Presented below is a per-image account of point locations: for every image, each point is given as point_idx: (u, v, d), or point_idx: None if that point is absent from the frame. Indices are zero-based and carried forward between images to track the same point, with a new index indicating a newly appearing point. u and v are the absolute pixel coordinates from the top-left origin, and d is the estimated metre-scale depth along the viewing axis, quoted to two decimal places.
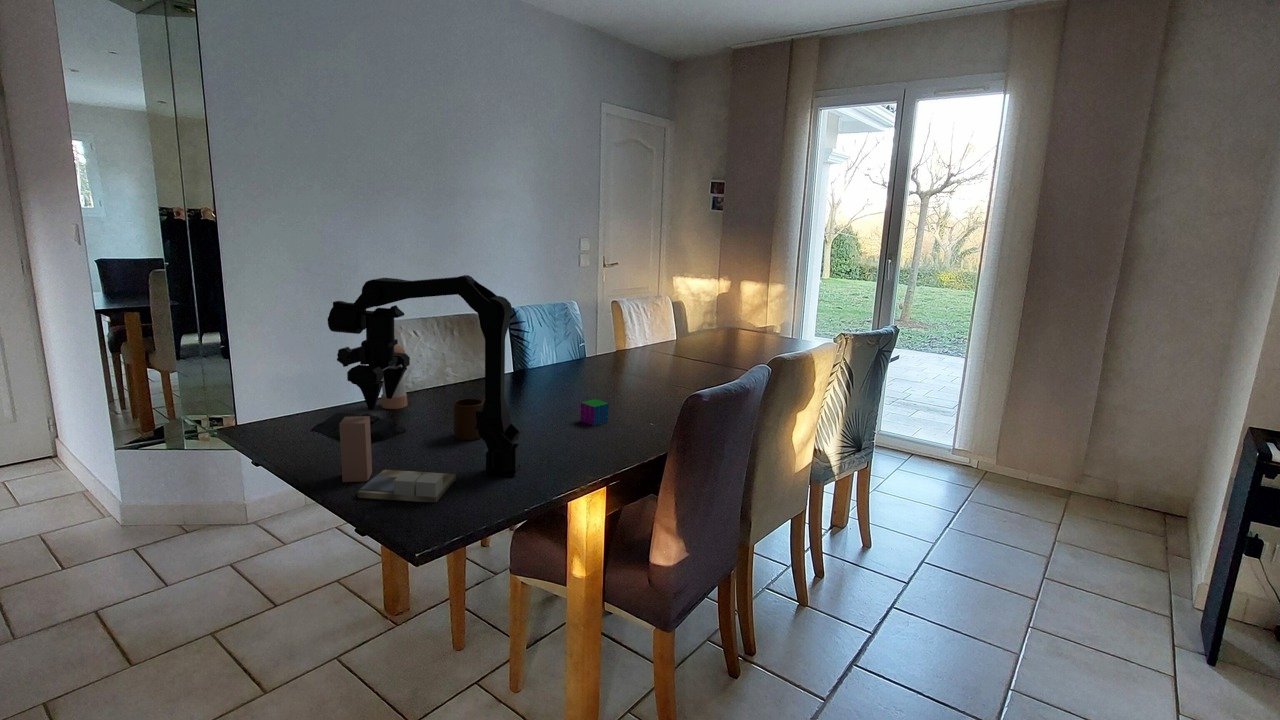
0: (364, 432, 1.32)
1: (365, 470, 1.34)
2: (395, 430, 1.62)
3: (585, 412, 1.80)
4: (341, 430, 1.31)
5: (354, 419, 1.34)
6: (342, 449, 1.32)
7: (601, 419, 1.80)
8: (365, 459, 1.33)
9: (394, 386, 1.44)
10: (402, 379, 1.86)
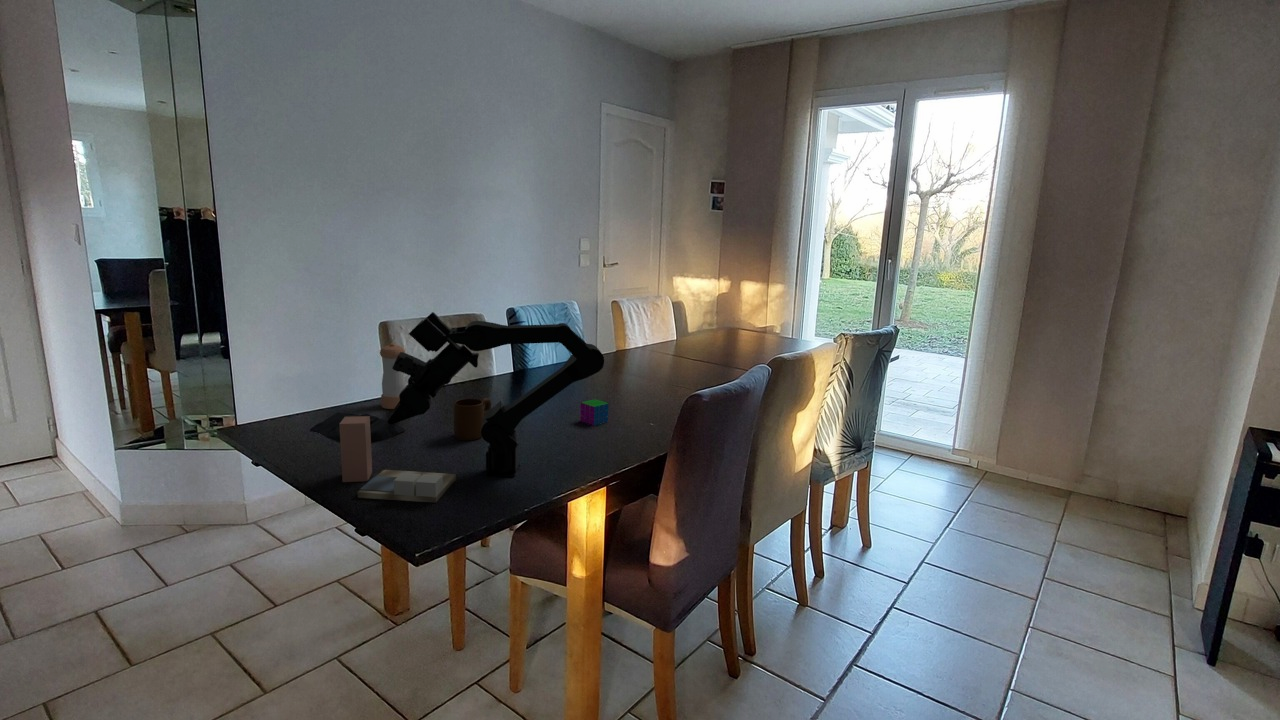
0: (364, 432, 1.32)
1: (365, 470, 1.34)
2: (394, 430, 1.62)
3: (585, 412, 1.80)
4: (341, 430, 1.31)
5: (354, 419, 1.34)
6: (342, 449, 1.32)
7: (601, 419, 1.80)
8: (365, 459, 1.33)
9: None
10: (402, 379, 1.86)
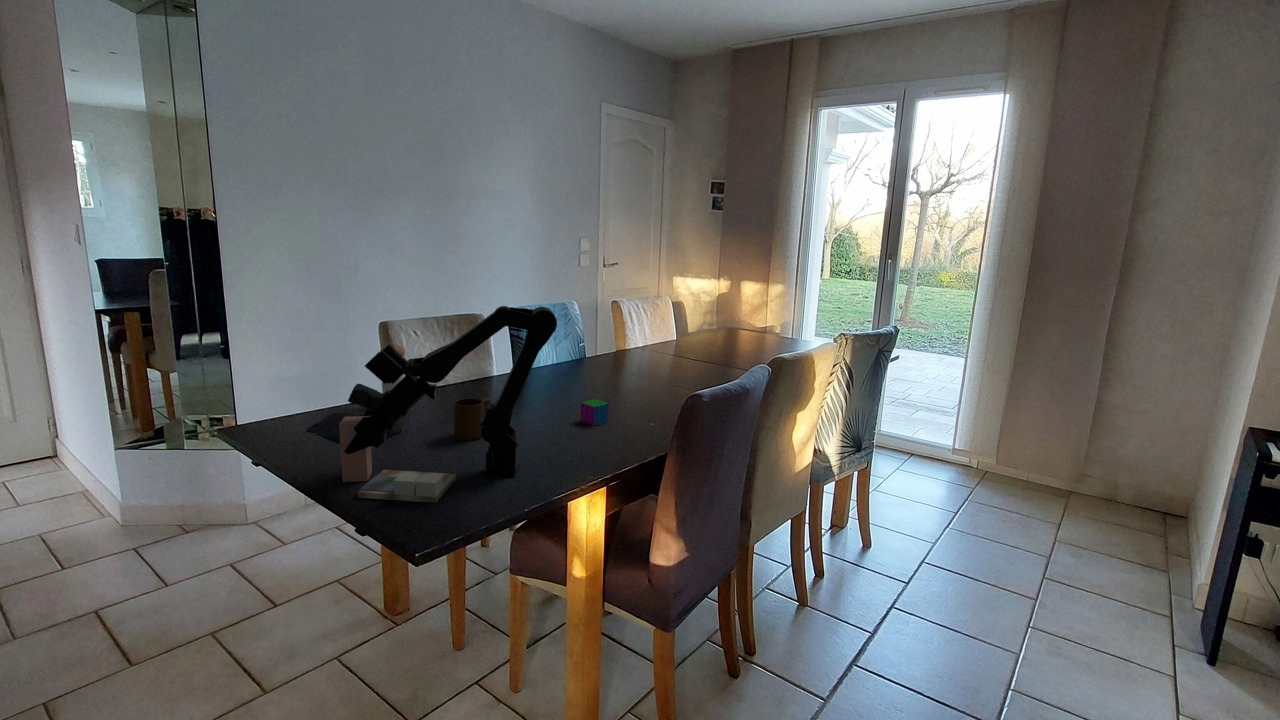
0: None
1: (365, 470, 1.34)
2: (390, 430, 1.61)
3: (585, 412, 1.80)
4: (341, 430, 1.31)
5: (354, 419, 1.34)
6: (342, 449, 1.32)
7: (601, 419, 1.80)
8: (365, 459, 1.33)
9: None
10: None
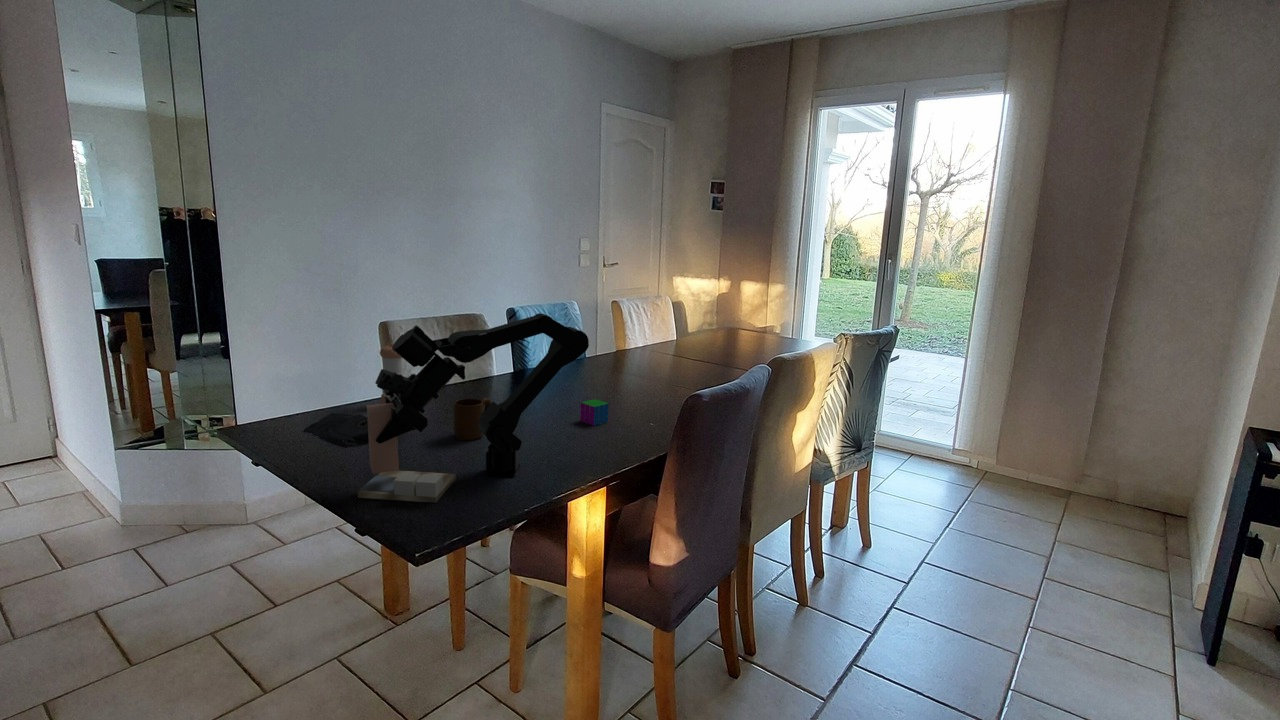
0: None
1: (396, 459, 1.28)
2: None
3: (585, 412, 1.80)
4: (371, 419, 1.24)
5: (380, 407, 1.27)
6: (372, 439, 1.25)
7: (601, 419, 1.80)
8: (396, 447, 1.27)
9: None
10: None
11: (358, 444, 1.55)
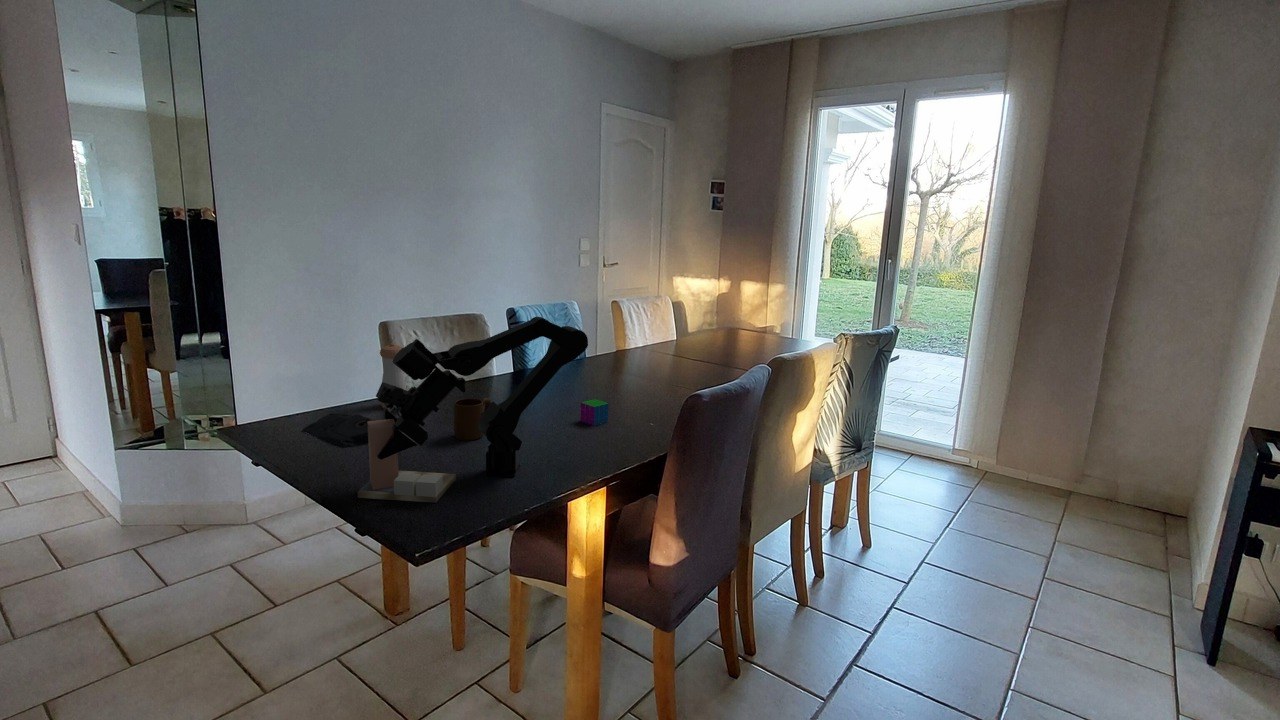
0: None
1: (396, 475, 1.29)
2: None
3: (585, 412, 1.80)
4: (372, 435, 1.25)
5: (381, 423, 1.28)
6: (373, 455, 1.25)
7: (601, 419, 1.80)
8: (396, 463, 1.28)
9: None
10: (402, 379, 1.86)
11: (356, 444, 1.55)
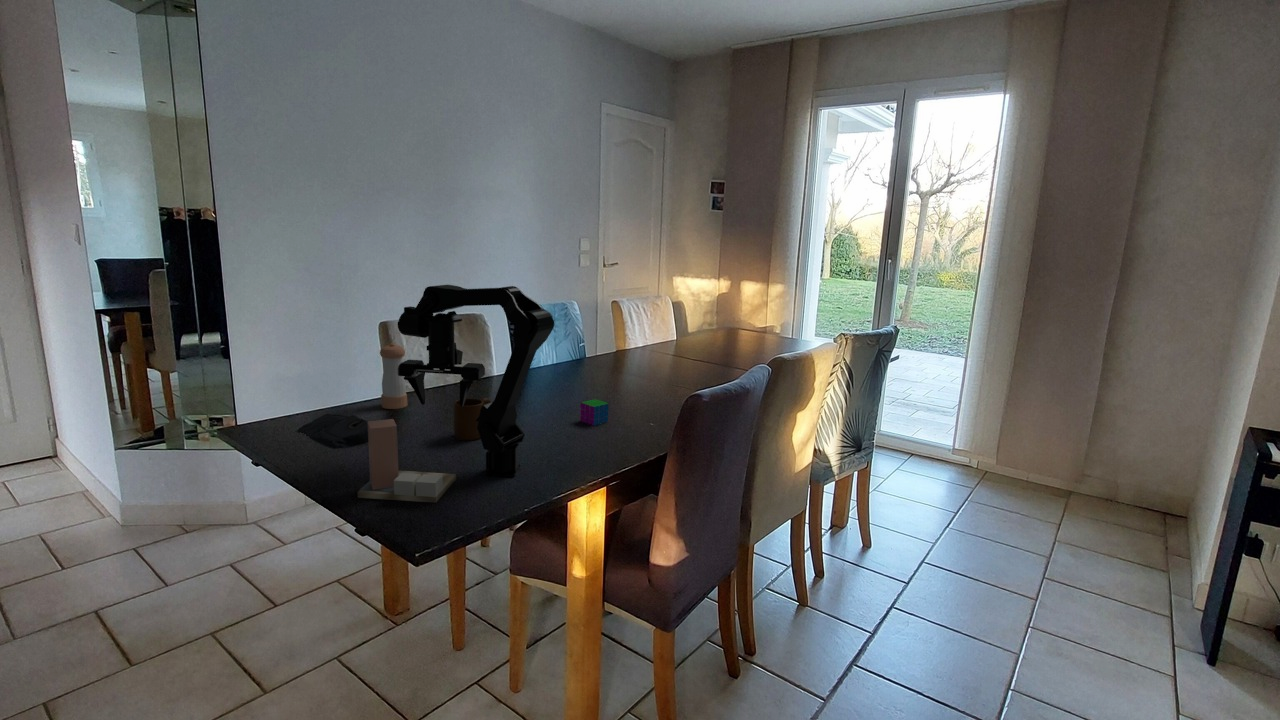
0: (396, 435, 1.27)
1: (396, 475, 1.29)
2: None
3: (585, 412, 1.80)
4: (372, 435, 1.25)
5: (381, 423, 1.28)
6: (373, 455, 1.25)
7: (601, 419, 1.80)
8: (396, 463, 1.28)
9: None
10: (402, 379, 1.86)
11: (348, 445, 1.54)
